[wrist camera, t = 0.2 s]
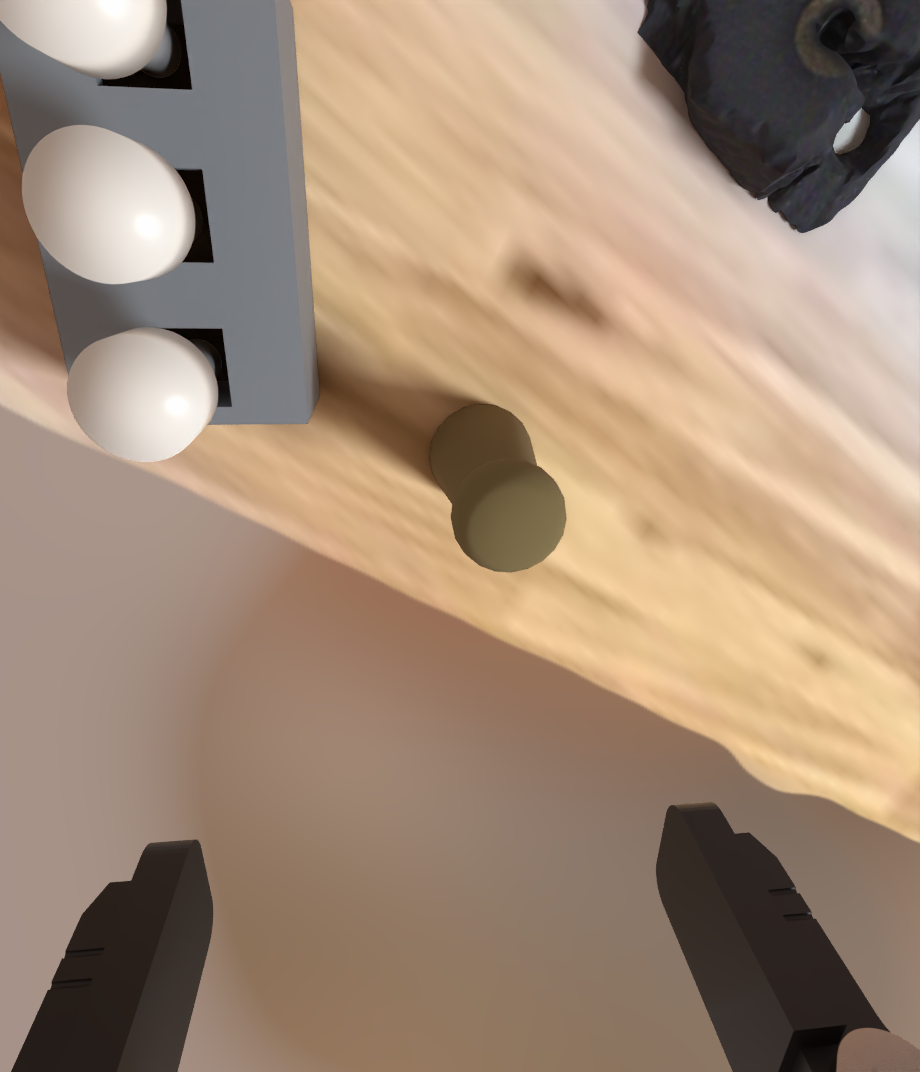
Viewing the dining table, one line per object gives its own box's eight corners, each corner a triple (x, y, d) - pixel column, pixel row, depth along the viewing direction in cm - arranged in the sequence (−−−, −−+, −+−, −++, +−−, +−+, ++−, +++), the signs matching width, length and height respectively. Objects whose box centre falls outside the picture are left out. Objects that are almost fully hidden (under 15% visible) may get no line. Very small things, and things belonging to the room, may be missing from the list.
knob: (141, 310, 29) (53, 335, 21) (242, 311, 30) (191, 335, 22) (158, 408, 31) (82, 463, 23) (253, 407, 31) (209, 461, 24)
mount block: (51, -6, 27) (-32, -68, 22) (292, 8, 28) (270, -48, 23) (128, 396, 34) (79, 425, 29) (319, 396, 35) (307, 423, 30)
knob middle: (114, 156, 27) (4, 121, 19) (225, 160, 27) (161, 127, 19) (134, 272, 28) (41, 283, 21) (237, 274, 29) (184, 285, 21)
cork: (544, 482, 39) (599, 565, 29) (450, 518, 39) (472, 611, 29) (514, 388, 36) (563, 442, 26) (413, 426, 37) (424, 494, 27)
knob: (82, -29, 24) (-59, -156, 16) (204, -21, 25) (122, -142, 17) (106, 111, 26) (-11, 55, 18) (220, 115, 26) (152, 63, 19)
